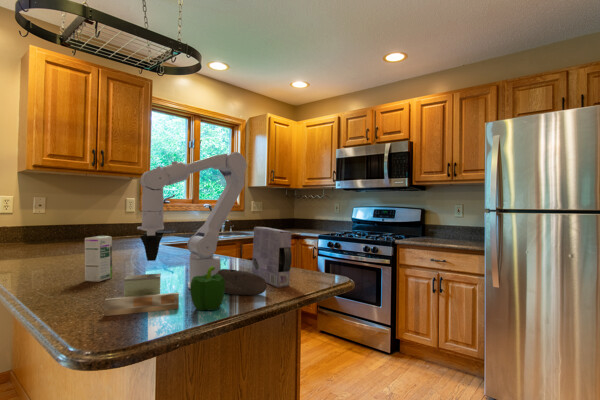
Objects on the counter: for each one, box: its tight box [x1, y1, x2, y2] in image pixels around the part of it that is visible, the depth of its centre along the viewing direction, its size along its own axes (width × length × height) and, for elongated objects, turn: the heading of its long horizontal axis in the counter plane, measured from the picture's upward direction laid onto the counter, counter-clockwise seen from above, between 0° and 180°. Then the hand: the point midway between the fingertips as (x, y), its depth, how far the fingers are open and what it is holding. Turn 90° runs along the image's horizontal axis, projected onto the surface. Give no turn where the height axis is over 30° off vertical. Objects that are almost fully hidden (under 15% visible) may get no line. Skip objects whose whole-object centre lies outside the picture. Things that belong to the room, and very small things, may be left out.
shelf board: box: [104, 292, 180, 317], centre depth 85 cm, size 16×11×4 cm
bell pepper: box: [190, 266, 225, 311], centre depth 83 cm, size 8×8×10 cm
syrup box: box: [84, 235, 113, 283], centre depth 113 cm, size 6×6×14 cm
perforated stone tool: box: [216, 268, 268, 296], centre depth 96 cm, size 15×5×7 cm, turn 75°
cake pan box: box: [251, 226, 293, 289], centre depth 112 cm, size 19×5×18 cm, turn 34°
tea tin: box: [123, 273, 161, 297], centre depth 86 cm, size 8×5×6 cm, turn 110°
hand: (152, 258), depth 97 cm, fingers open, 7 cm apart
